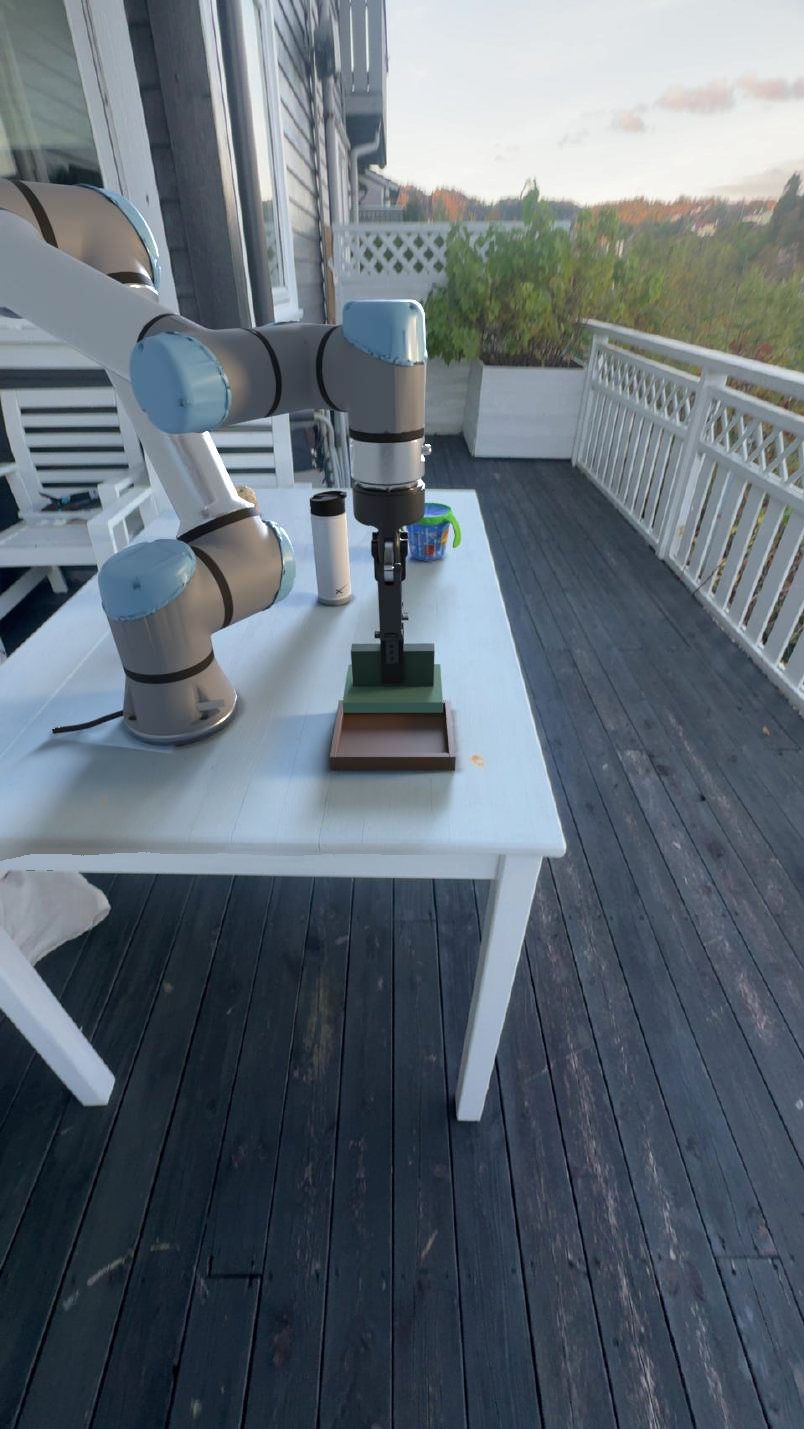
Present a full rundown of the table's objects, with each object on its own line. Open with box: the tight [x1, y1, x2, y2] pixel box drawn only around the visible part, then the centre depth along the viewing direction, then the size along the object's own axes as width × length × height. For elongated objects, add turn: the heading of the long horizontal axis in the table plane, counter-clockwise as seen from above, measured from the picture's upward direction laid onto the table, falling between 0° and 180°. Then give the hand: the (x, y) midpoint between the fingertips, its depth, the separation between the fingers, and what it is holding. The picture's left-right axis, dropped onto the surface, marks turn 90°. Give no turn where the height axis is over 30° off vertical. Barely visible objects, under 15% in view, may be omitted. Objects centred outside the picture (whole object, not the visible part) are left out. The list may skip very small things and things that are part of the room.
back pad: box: [342, 642, 444, 713], centre depth 77 cm, size 12×9×6 cm
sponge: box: [234, 485, 260, 515], centre depth 159 cm, size 9×10×10 cm
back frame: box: [329, 699, 457, 771], centre depth 83 cm, size 16×13×2 cm
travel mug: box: [309, 490, 352, 606], centre depth 114 cm, size 6×7×20 cm
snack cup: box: [402, 502, 462, 562], centre depth 134 cm, size 16×10×10 cm
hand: (393, 675), depth 77 cm, fingers closed on back pad, 2 cm apart
